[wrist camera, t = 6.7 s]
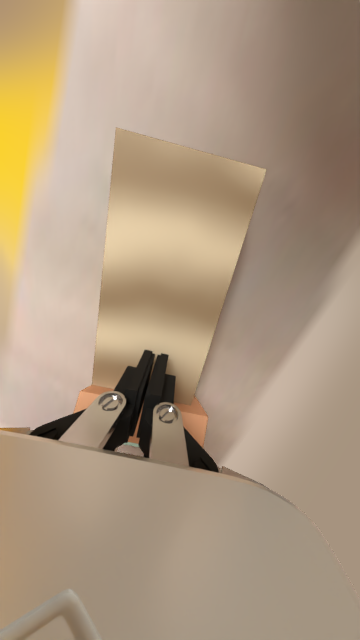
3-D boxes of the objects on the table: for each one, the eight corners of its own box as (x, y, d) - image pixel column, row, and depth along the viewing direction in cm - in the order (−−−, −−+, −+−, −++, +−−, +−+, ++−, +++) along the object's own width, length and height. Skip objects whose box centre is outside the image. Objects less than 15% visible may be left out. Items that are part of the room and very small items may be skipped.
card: (80, 391, 12) (68, 430, 11) (208, 417, 12) (201, 455, 12) (108, 376, 18) (100, 402, 17) (194, 394, 18) (189, 420, 18)
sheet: (136, 168, 13) (116, 127, 9) (242, 197, 13) (266, 169, 9) (112, 358, 18) (91, 384, 14) (189, 375, 18) (190, 405, 14)
